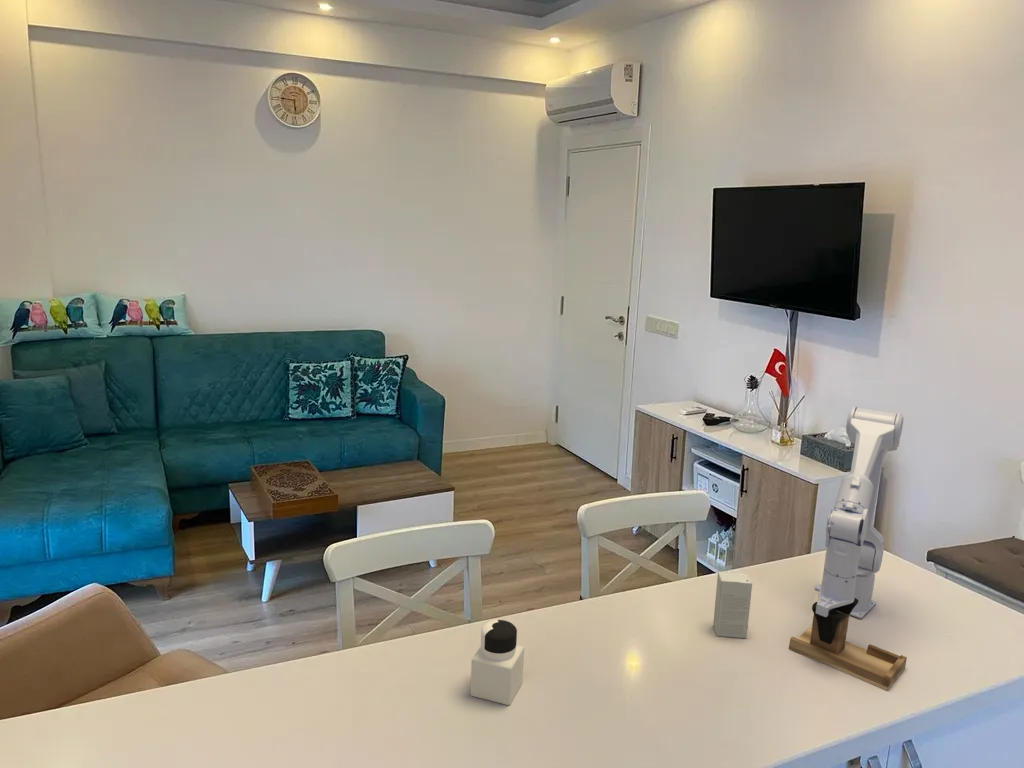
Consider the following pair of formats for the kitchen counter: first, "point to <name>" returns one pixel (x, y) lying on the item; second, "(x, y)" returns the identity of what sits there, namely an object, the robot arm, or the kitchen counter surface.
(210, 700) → the kitchen counter surface
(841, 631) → the cabinet block
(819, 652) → the cleat board
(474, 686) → the medicine bottle
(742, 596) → the skincare box
